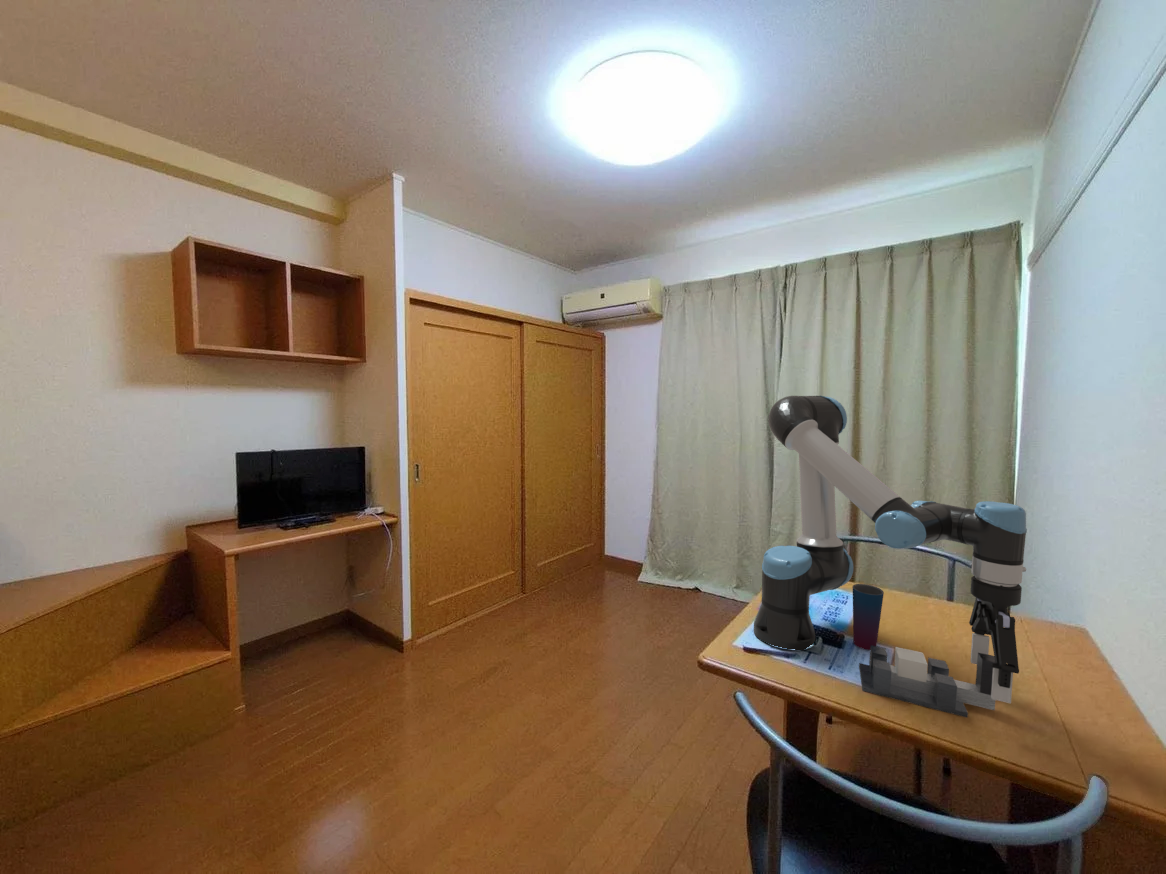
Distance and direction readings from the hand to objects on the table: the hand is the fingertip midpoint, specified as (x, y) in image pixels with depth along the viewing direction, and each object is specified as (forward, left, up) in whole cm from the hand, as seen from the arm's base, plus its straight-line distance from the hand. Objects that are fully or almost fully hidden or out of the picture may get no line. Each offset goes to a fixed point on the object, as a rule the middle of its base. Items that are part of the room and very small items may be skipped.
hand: (989, 681), depth 93 cm
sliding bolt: (-9, 0, -5) cm, 10 cm away
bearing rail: (-13, 0, -6) cm, 15 cm away
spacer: (-13, 0, 0) cm, 13 cm away
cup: (-20, +17, -6) cm, 27 cm away
